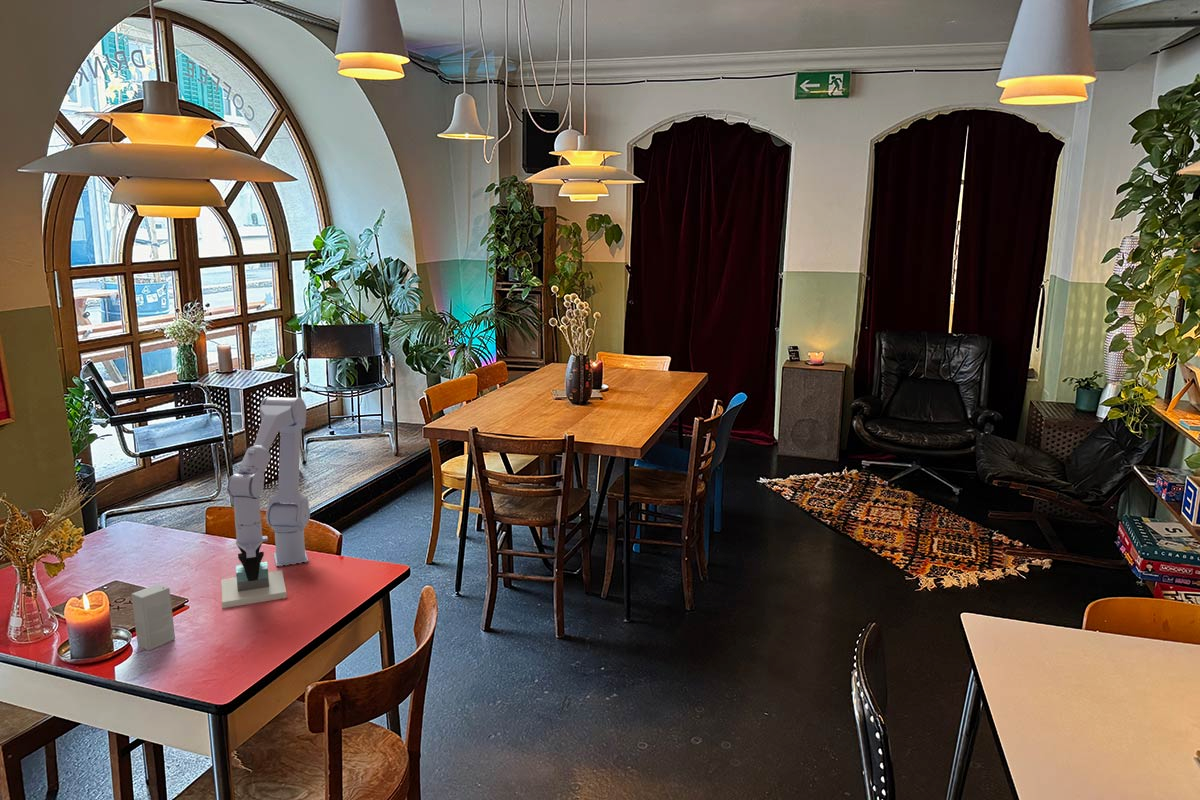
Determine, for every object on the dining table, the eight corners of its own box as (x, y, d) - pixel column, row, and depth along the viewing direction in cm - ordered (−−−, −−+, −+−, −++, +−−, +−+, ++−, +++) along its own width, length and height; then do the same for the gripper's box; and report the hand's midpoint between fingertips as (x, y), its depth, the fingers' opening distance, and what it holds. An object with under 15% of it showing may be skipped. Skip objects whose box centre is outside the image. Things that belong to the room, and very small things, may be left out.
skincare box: (164, 634, 177) (158, 582, 174) (175, 639, 175) (170, 587, 172) (136, 646, 172) (130, 593, 169) (147, 651, 169) (142, 598, 167)
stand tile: (221, 585, 202) (221, 579, 201) (282, 575, 207) (281, 570, 207) (222, 608, 189) (222, 602, 189) (286, 597, 195) (286, 591, 195)
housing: (237, 584, 199) (235, 563, 197) (268, 579, 201) (266, 559, 200) (237, 591, 194) (236, 570, 193) (269, 586, 197) (267, 565, 196)
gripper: (267, 529, 190) (271, 583, 193) (264, 510, 203) (268, 561, 206) (234, 533, 187) (239, 588, 190) (233, 514, 200) (238, 566, 203)
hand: (252, 575), depth 197 cm, fingers open, 6 cm apart
